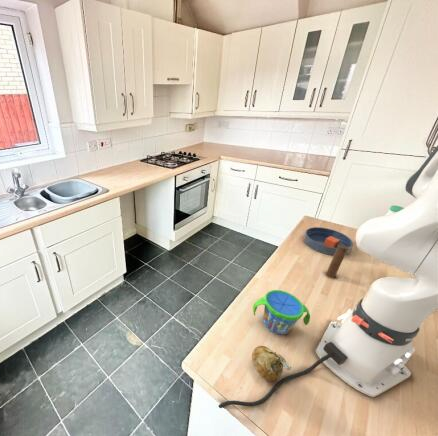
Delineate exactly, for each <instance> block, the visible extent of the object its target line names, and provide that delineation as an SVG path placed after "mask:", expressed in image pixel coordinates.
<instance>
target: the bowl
mask: <svg viewBox="0 0 438 436" xmlns="http://www.w3.org/2000/svg"><path fill="white" fill-rule="evenodd" d="M330 236H332V237H334V238H337V239H339V240H340V241H339V244H338V245H340V244H342V245H345V246H347V247H348V250H347V252H346V254H345V256H346V255H349V254H350V253H351V250H352V248H353V246H354V241H353V240H352V239H351V238H350V237H348V235H346V234H344V233H342V232H340V231H337V230H335V229H331V228H326V227H320V226H315V227H309V228H307V229H306V230H305V232H304V235H303V237H302V240H303V243H304V244H305V245H306V247H308V248H309V249H311V250H313V251H315V252H316V253H320V254H323V255H326V256H331V257H333V256H334V254H335V252H336V249H337V247H338V246H337V247H336V248H333V247H328V246H325V245H324V242H325V240H326V238H328V237H330Z"/></svg>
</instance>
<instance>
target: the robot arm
mask: <svg viewBox="0 0 438 436" xmlns="http://www.w3.org/2000/svg"><path fill="white" fill-rule="evenodd" d="M404 190H405V191H406V193H407V194H409V195H410V196H412V197H413V198H415V200H414V201H413V202H412V203H410V204H409V205H407V206H406V207H403V208H404V209H402V210H400V211H398V212H395V213H393V214H389V215H386V214H384V215H380V216H375V217H372V218H370V219H368V220H366V221H365V222H363V223H362V224H361V225H360V226H359V227H358V228H357V230H356V233H355V239H354V240H355V245H356V248H357V249H358V251H361V252H362V253H364V254H365V255H367V256H369V257H371V258H372V259H373V260H375V261H378V262H380V263H381V264H384V265H387V266H389V267H392V268H394V269H396V270H399V271H402V272H404V273H406V274H408V275H411V276H413V277H401V276H385V277H384V276H383V277H381V278H378V279H376V280H374V281H373V282H372V283H371V285H370V287H369V288H368V290H367V291H366V294H365V295H364V297H363V298H361V299H360V300H359V302H358V303H357V304H356V305H355V307H354V308H348V309H347V311H346V313H344V314H342V315H340V316H338V317H337V320H338V321H335V320H332V321H331V322H330V323H329V324H328V326H327V328H326V330H325V332H324V334H323V335H322V337H321V340H320V341H319V343H318V345H317V347H316V349H315V354H316V355H317V357H318V358H319V359H318V360H316V361H315V362H314V363H313V364H312V365H311V366H309V367H308V368H306V369H304V370H301V371H299V372H297V373H293V374H289V375H288V376H285V377H283V378H281V379H280V380H278V381H277V382H276V383H275V384H274V385H273V387H272V388H270V390H269V391H268V392H267V393H266V395H264V396H263V397H262V398H260V399H258V400H256V401H241V400H226V401H223V402H221V403H219V404H218V408H219V409H223V408H224V407H228V406H242V407H257V406H260V405H262V404H263V403H266V401H268V400H269V399H270V398H271V397H272V396H273V394H274V393H275V392H276V391H277V389H278V388H279V387H280V386H282V385H283V384H285V383H286V382H288V381H290V380H293V379H296V378H299V377H303V376H305V375H306V374H307V375H308V374H309V373H310V372H312V371H313V370H315V369H316V368H317V367H318V366H319V365H320V364H322V363H323V364H324V365H325V366H326V367H327V368H328V369H329V370H330V371H331V372H332V373H333V374H334V375H336V376H337V377H338V378H339V379H341V380H342V381H343V382H345V383H346V384H347V385H348V386H350V387H352V388H353V389H354V390H356V391H358V392H360V393H362V394H364V395H366V396H369V397H370V398H376V397H377V396H380V395H381V394H383V393H384V392H386V391H388V390H390V389H392V388H393V387H395V386H396V385H399V384H400V383H402V382H403V381H405V380H407V379H409V378H410V376H411V375H412V373H411V371H410V369H409V368H408V367H407V366H406V364H408V362H409V361H411V359H410V358H411V357H412V355H413V354H414V353H415V351H416V348H415V346H414V344H413V340H414V339H415V338H416V337H417V336H418V334H419V332H420V327H421V325H422V324H423V323H424V322H425V321H426V320H427V319H428V318H429V317H430V316H431V315H433V313H434V312H436V311H437V310H438V145H436V147H435V148H434V149H433V151H432V152H431V153H430V154H429V156H428V157H427V158H426V160H425V161H424V162H423V164H422V165H421V166H420V168H419V169H418V170H417V171H415V172H414V173H413V174H412V175H411V176H409V178H408V179H407V181H406V183H405V188H404ZM341 319H342V320H341ZM339 320H341V322H339Z"/></svg>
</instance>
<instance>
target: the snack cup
mask: <svg viewBox="0 0 438 436" xmlns="http://www.w3.org/2000/svg"><path fill="white" fill-rule="evenodd" d="M262 305H263V306H264V308H263V309H264V310H263V320H262V321H263V324H264V326H265V327H266V328H267V329H268V330H269V331H270V333H274V334H276V335H287V334H288V333H289V332H290V331H291V330H292V328H293V327H294V326H295V325H296V323H297V322H298V320H300V319H301V318H302V317H303V318H302V319H303V320H302V322H303V324H304V325H305V326H308V325H309V323H310V320H311V313H310V311H309V308H307V306H306V305H304V304H303V303H302V301H301V300H300V299H299V298H298V297H296V296H295V295H293V294H292V293H291V292H287V291H285V290H280V289H273V290H269V291H267V293H266V294H265V295H264V297H260V298H258V299H257V300H256V301H255V302H254V303H253V305H252V313H253V316H256V311H257V309H258V307H259V306H262ZM304 313H306V314H305V315H304Z"/></svg>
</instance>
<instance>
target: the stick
mask: <svg viewBox="0 0 438 436" xmlns="http://www.w3.org/2000/svg"><path fill="white" fill-rule="evenodd" d="M347 250H348V247H347V246H345V245H342V244H340V245H338V247H337V249H336V252H335V254H334V256H332V259H331V261H330V262H329V263H330V264H329V266H328V268H327V270H326V272H325V275H326V276H327V277H328V278H331V279H334V278H336V276H337V273H338V271H339V269H340V267H341V265H342V263H343V260H344V259H345V256H346V255H345V254H346V252H347Z"/></svg>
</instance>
